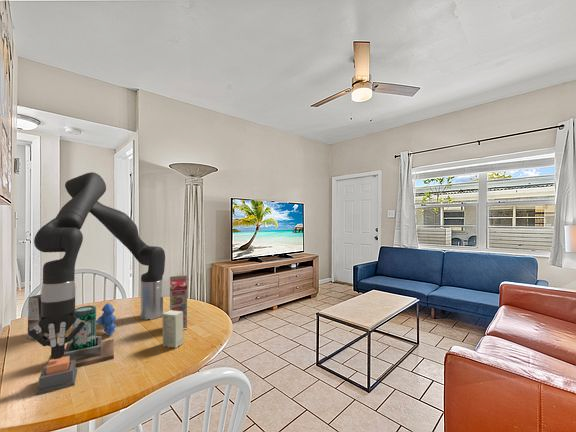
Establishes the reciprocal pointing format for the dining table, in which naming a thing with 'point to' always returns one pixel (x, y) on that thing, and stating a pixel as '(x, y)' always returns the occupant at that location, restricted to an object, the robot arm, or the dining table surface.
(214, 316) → the dining table surface
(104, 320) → the grapes
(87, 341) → the can
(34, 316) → the coffee box
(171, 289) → the juice carton
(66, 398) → the dining table surface
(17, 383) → the dining table surface
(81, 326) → the robot arm
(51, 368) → the button
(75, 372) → the button housing
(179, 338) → the skincare box
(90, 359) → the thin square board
